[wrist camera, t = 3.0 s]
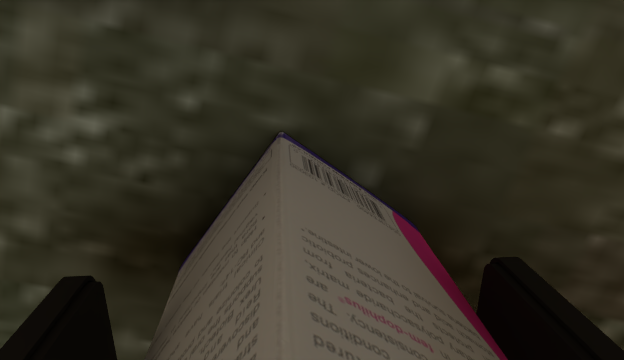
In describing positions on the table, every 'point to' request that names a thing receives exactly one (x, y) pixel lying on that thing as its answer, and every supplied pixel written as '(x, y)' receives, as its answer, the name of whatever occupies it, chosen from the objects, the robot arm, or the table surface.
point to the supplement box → (314, 277)
